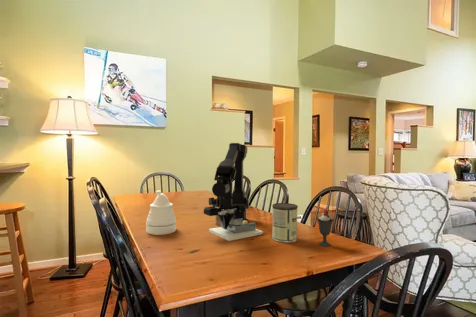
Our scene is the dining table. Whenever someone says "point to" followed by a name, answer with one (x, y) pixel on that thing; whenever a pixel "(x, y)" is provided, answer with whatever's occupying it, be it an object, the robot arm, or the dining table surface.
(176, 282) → the dining table surface
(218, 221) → the hollow wooden box
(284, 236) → the coffee can
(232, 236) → the base board
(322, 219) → the sundae
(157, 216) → the honey pot
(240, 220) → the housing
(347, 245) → the dining table surface
